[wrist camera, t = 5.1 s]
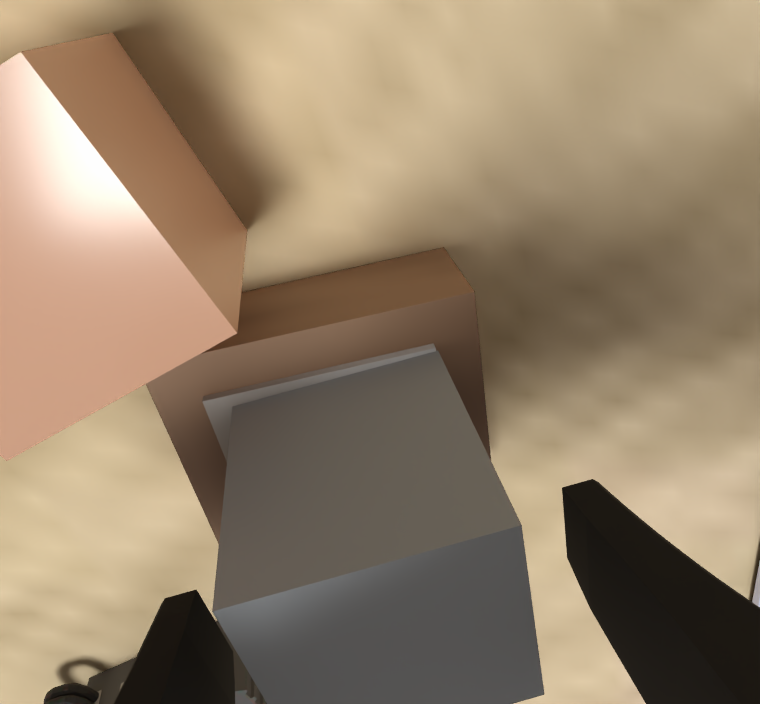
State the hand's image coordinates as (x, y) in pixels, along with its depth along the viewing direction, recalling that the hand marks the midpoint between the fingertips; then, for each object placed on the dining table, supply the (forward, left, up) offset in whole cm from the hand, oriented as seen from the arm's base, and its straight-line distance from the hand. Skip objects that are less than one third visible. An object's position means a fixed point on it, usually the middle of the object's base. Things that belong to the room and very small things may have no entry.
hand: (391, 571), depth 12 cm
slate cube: (0, 0, -3) cm, 3 cm away
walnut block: (0, +1, -6) cm, 6 cm away
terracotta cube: (+7, +4, -6) cm, 10 cm away
